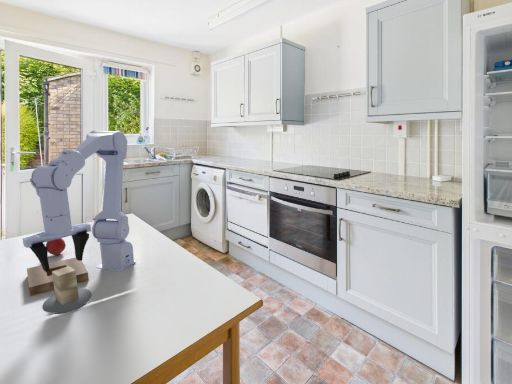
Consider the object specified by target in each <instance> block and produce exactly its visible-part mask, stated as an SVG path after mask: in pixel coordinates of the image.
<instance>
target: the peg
mask: <svg viewBox="0 0 512 384" xmlns="http://www.w3.org/2000/svg"><path fill="white" fill-rule="evenodd" d="M52 276H53V283H54V290H53V291H54V295H55V297H56V300H57V301H58V302H59V303H60V304H62V305H64V304H66V303H68V302H71V301H73V300H76V299H78V298H79V295H78V283H77V279H76V271H75V270H74V269H72V268H71V267H69V266H68V267H65V268H61V269H58V270H55V271H52Z"/></svg>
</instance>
